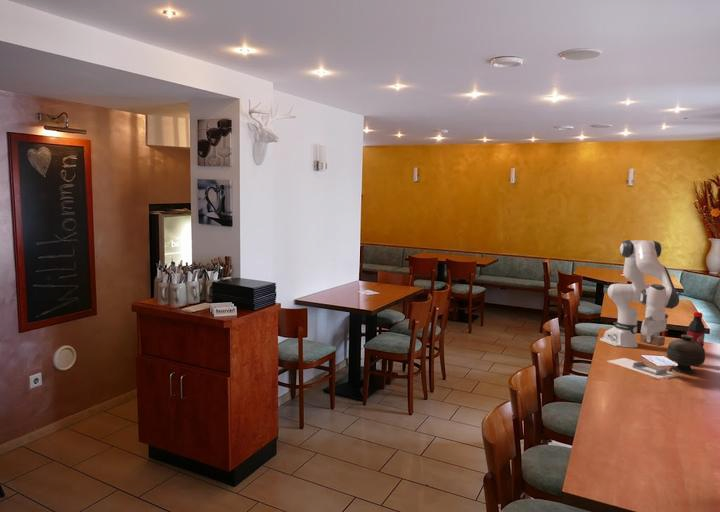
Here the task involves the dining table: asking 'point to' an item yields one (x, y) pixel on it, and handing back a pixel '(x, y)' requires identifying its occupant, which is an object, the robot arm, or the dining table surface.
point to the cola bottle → (697, 329)
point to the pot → (685, 354)
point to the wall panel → (644, 368)
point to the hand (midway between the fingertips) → (652, 341)
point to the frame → (653, 340)
